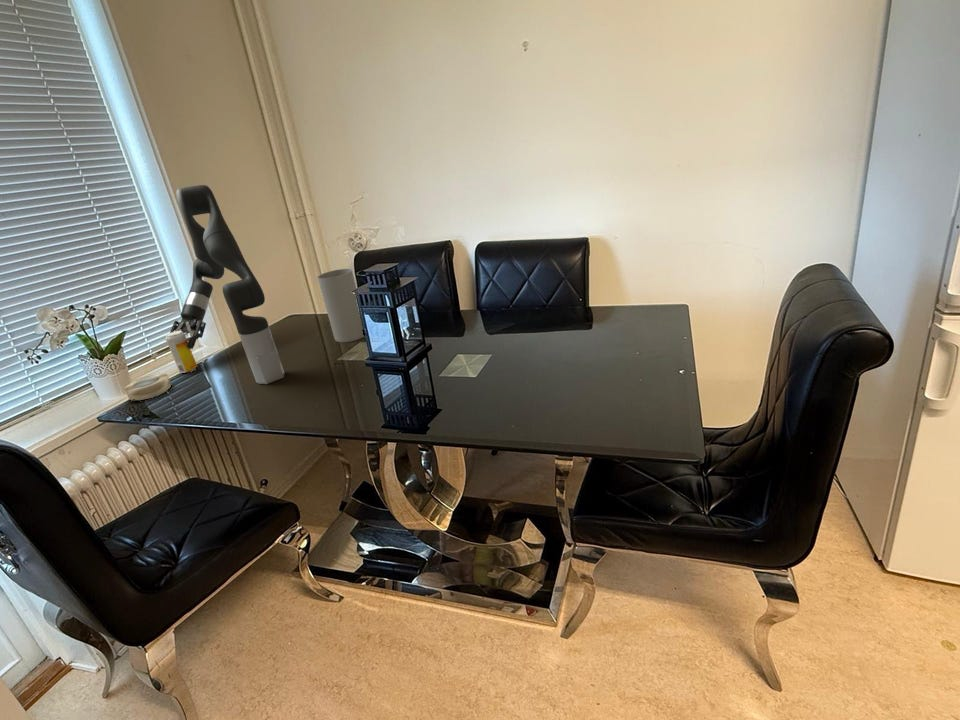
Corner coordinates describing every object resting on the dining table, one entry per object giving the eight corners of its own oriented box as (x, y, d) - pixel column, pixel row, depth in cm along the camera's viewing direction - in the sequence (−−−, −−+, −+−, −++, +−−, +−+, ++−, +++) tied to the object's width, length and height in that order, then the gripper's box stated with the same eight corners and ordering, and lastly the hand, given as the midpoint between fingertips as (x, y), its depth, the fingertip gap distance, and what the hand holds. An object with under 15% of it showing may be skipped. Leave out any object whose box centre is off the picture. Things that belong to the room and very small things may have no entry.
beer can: (201, 366, 194) (186, 329, 188) (191, 373, 188) (176, 335, 182) (186, 368, 195) (171, 331, 189) (176, 375, 189) (160, 337, 183)
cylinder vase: (354, 329, 207) (338, 268, 197) (374, 332, 199) (358, 269, 189) (328, 341, 198) (310, 277, 189) (348, 345, 191) (330, 279, 181)
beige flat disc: (175, 390, 176) (170, 379, 174) (132, 405, 169) (126, 394, 167) (168, 380, 185) (163, 369, 184) (127, 394, 179) (122, 384, 177)
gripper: (173, 303, 193) (158, 344, 188) (200, 302, 187) (186, 344, 182) (190, 312, 199) (176, 351, 194) (217, 311, 194) (203, 351, 189)
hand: (181, 348), depth 188 cm, fingers open, 8 cm apart
